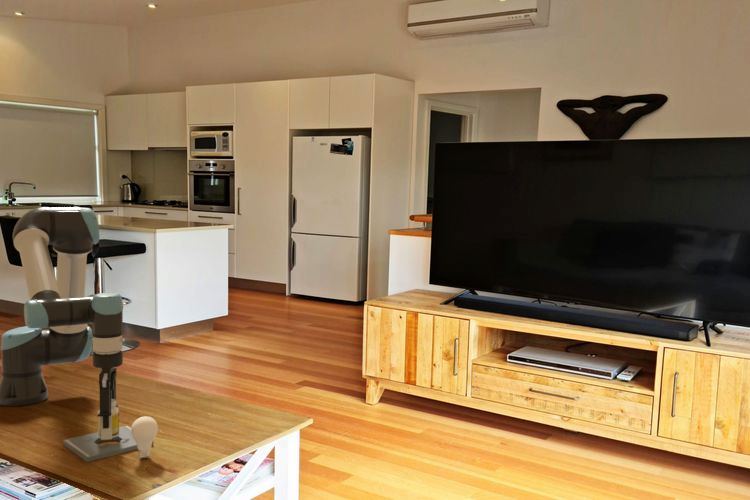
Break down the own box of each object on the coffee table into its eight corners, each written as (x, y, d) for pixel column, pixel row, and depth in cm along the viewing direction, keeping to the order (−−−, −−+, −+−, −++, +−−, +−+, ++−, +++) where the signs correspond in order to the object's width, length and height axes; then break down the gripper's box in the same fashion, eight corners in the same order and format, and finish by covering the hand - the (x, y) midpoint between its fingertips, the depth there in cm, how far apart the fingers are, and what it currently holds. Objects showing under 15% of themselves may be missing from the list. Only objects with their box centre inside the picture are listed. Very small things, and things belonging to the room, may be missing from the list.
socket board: (63, 444, 185) (62, 439, 184) (127, 429, 197) (127, 425, 197) (87, 462, 173) (87, 457, 173) (153, 445, 186) (153, 440, 186)
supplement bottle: (122, 436, 185) (122, 401, 184) (103, 441, 181) (103, 405, 180) (113, 431, 189) (113, 396, 188) (94, 435, 185) (94, 400, 184)
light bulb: (134, 453, 180) (134, 412, 179) (160, 453, 180) (160, 412, 179) (127, 463, 173) (127, 421, 172) (154, 463, 174) (154, 421, 173)
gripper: (117, 359, 175) (118, 446, 177) (126, 343, 193) (127, 422, 195) (86, 359, 173) (87, 448, 175) (98, 343, 191) (99, 424, 193)
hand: (108, 434), depth 185 cm, fingers closed on supplement bottle, 5 cm apart
